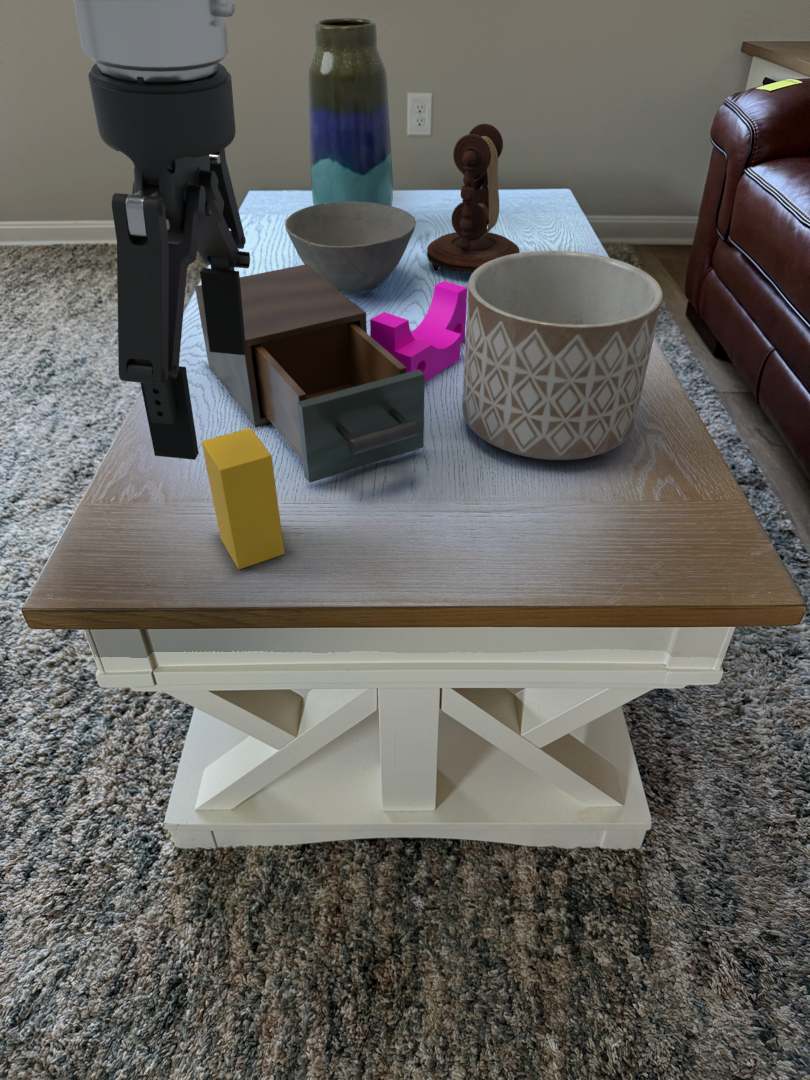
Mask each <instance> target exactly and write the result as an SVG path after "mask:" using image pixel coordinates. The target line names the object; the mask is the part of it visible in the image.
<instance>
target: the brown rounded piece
mask: <svg viewBox="0 0 810 1080" xmlns="http://www.w3.org/2000/svg"><path fill="white" fill-rule="evenodd" d="M503 149H504V140H503V136H502V134H501V133H500V131H499V130H498V128H496V127H495V126H494V125H492V124H490V123H480V124H477V125H476V126H474V127H472V128H471V130H470V131H469V133H468V134H466V135H463V136H462V137H460V138H459V139H458V140H457V142H456V143H455V145H454V148H453V154H452V155H453V162H454V164H455V166H456V168H457V169H458V171H459V172H460V173H461V174H462V176H463V179H462V182H463V184H464V185H462V187H461V189H460V198H461V199H462V200H461V201H462V202H460V203H458V205H456V206H455V208H454V209H453V211H452V214H451V226H452V228H453V230H454V232H450V233H446V234H443V235H441V236H439V237H438V238H435V239H434V240H431V242H430V243H429V244H428V245H427V248H426V257H427V259H428V261H429V262H430V263H431V266H432V269H433V272H435V273H436V272H438V271H439V268H440V269H443V270H447V271H451V272H455V273H460V274H461V273H462V274H472V273H473V272H474V271H475V270H476V269H477V268H478V267H480V266H481V265H483V264H485V263H487V262H489V261H491V260H493V259H496V258H499V257H502V256H506V255H511V254H516V253H521V252H520V251H521V250H520V248H519V246H518V245H517V244H516V243H515V242H514V241H512V240H511V239H509V238H507V237H506V236H504V235H500V234H497V233H495V232H494V233H493V232H491V230H492V229H493V228H494V227H495V226H496V225H497V222H498V220H499V216H500V192H499V191H500V190H499V179H498V178H499V174H498V173H499V172H498V170H499V158H500V156H501V155H502V153H503Z"/></svg>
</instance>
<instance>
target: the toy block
mask: <svg viewBox="0 0 810 1080" xmlns="http://www.w3.org/2000/svg"><path fill="white" fill-rule="evenodd" d="M433 287H434V289H433V293H432V294H433V295H432V298H431V301H430V305H429V307H428V309H427V312H426V314H425V316H424V317H423V319H422V321H421V322H420V323H419V325H417V326H416V327H415V328H414V329H413V330H411V327H410V321H409V319H406V318H404V317H400V316H398V315H394V314H392V313H390V312H389V313H388V312H386V311H383V312H381V313H379V314H378V315H376V316H373V317H372V318H370V319H369V327H370V328H369V331H370V333H369V334H370V337H371V338H373V339H374V340H375V341H376V342H377V343H378V344H380V345H381V346H382V347H383V348H384V349H385V350H387V351H388V352H389V353H390V354H391V355H392V356H394V357H395V358H396V359H397V360H398V361H399V362H401V363H402V364H403V365H404V366H405V367H406V373H408V372H411V371H415V370H420V371H421V372H423V373H424V374H425V383H426V382H428V381H429V380H431V379H433V378H434V377H435V376H437V375H439V374H440V373H441V372H443V371H445V370H446V369H447V368H449V367H451V366H452V365H454V364H456V363H457V362H459V361H460V360H461V347H462V346H461V345H462V344H464V343H465V342H466V323H467V304H468V287H467V286H463V285H460V284H456V283H453V282H450V281H446V280H441V282H438V283H437V284H434V286H433Z"/></svg>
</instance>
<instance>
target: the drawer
mask: <svg viewBox="0 0 810 1080" xmlns="http://www.w3.org/2000/svg"><path fill="white" fill-rule="evenodd" d="M252 351H253V358H254V365H255V373H256V380H257V387H258V395H259V402H260V408H261V411H262V412H263V413H264V414H265V416H266V417H267V418H268V419H269V421H270V423H271V425H272V426H273V427H274V428H275V429H276V431H277V432H278V433H279V435H280V436H281V437H282V439H284V441H285V443H287V444H288V446H289V447H290V448H291V450H292V451H293V452H294V453H295V455H297V457H298V458H299V459H300V461H301V462H302V463H303V472H304V478H305V479H306V481H307V482H308V483H309V484H311V483H314V482H317V481H320V480H324V479H326V478H329V477H334V476H337V475H339V474H343V473H346V472H349V471H353V470H357V469H359V468H362V467H365V466H369V465H372V464H375V463H378V462H381V461H384V460H387V459H391V458H394V457H397V456H401V455H404V454H407V453H410V452H413V451H417V450H421V449H423V448H424V442H425V441H424V440H425V439H424V437H425V433H424V432H425V425H424V424H425V383H426V382H425V374H424V373H423V372H421V371H420V370H415V371H411V372H408V373H406V367H405V366H404V365H403V364H402V363H401V362H399V361H398V360H397V359H396V358H395V357H394V356H392V355H391V354H390V353H389V352H388V351H387V350H385V349H384V348H383V347H382V346H381V345H380V344H378V343H377V342H376V341H375V340H374V339H373V338H371V335H370V334H368V332H367V333H366V332H364V331H363V330H362V329H361V328H360V327H359V326H357V325H356V324H355V323H354V322H351V323H347V324H342V325H338V326H334V327H330V328H325V329H321V330H317V331H313V332H308V333H304V334H300V335H295V336H291V337H287V338H283V339H278V340H274V341H270V342H265V343H261V344H257V345H253V346H252Z"/></svg>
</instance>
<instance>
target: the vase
mask: <svg viewBox="0 0 810 1080" xmlns="http://www.w3.org/2000/svg"><path fill="white" fill-rule="evenodd" d="M377 36H378V35H377V23H376V22H375V21H374V20H371V19H367V18H356V17H354V18H353V17H352V18H351V17H343V18H341V17H339V18H338V17H337V18H328V19H321V20H318V21H316V22H315V23H314V40H315V41H314V43H315V47H314V51H313V54H312V58H311V61H310V63H309V67H308V109H309V110H308V111H309V112H308V113H309V115H308V116H309V118H308V119H309V154H310V182H311V197H312V203H313V206H314V205H319V204H327V203H331V202H346V201H356V202H372V203H378V204H383V205H387V206H392V207H393V202H394V201H393V199H394V179H393V177H394V176H393V159H392V157H393V156H392V143H391V123H390V108H389V106H390V105H389V91H388V76H387V69H386V66H385V63H384V61H383V58H382V55H381V54H380V51H379V48H378V39H377Z"/></svg>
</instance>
